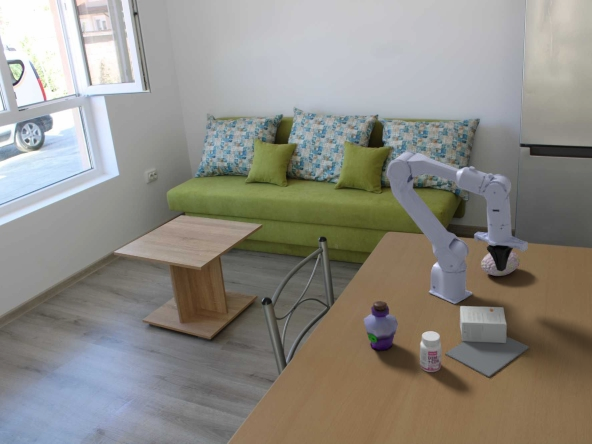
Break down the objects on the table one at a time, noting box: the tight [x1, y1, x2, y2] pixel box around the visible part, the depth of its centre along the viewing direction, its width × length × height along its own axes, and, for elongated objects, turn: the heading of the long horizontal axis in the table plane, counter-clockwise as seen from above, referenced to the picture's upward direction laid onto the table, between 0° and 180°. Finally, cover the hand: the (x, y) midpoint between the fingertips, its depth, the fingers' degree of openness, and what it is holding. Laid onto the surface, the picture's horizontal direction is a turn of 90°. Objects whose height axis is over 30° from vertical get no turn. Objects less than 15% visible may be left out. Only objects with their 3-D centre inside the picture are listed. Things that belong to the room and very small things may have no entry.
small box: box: [459, 305, 508, 343], centre depth 137 cm, size 8×6×10 cm
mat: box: [444, 336, 530, 378], centre depth 132 cm, size 12×16×1 cm
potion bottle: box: [363, 300, 399, 352], centre depth 136 cm, size 9×9×12 cm
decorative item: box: [480, 250, 521, 277], centre depth 166 cm, size 9×11×10 cm
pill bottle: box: [419, 330, 442, 373], centre depth 127 cm, size 5×5×8 cm
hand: (501, 269), depth 147 cm, fingers closed
